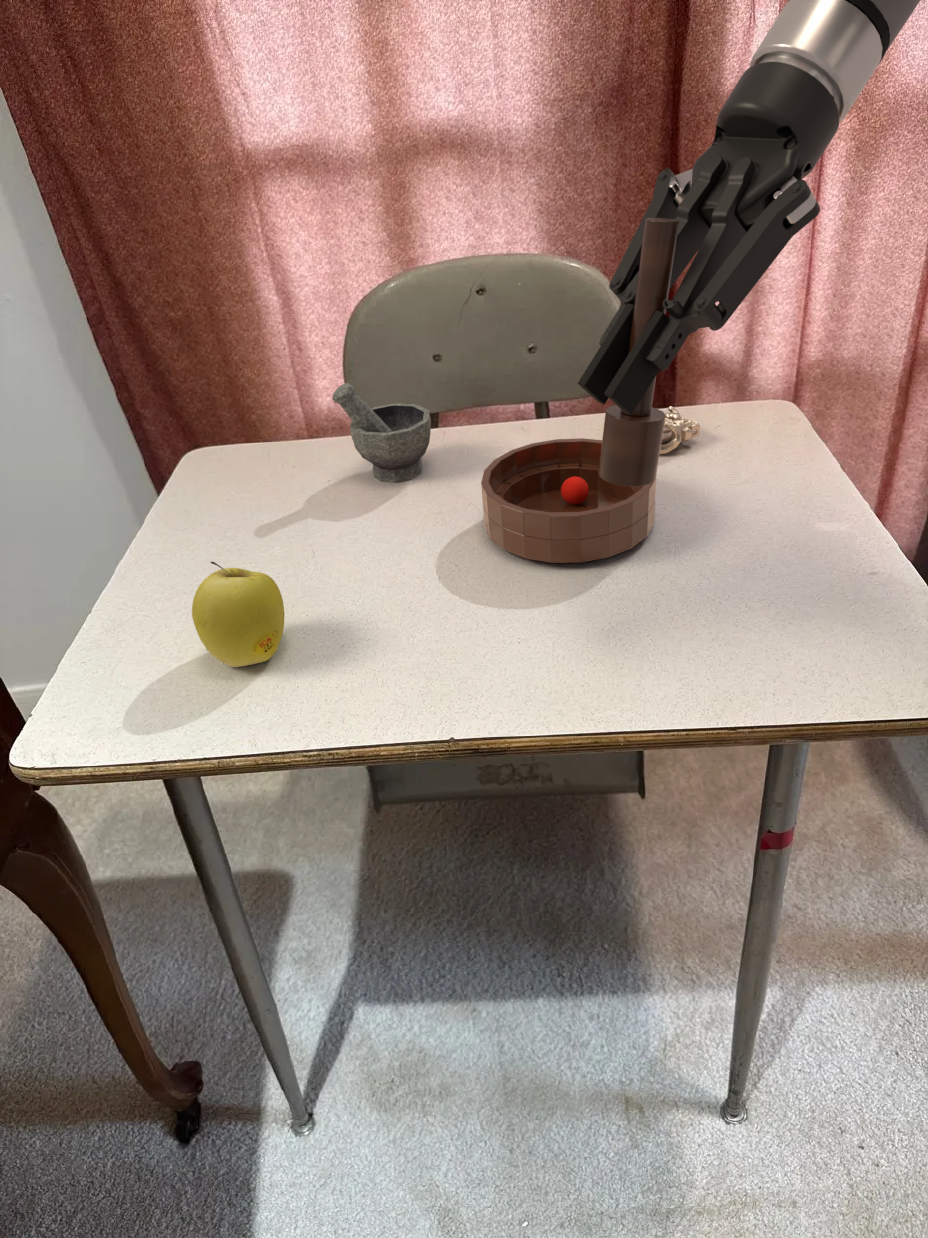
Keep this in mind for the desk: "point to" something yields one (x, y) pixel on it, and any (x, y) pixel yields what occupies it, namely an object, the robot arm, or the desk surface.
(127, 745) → the desk surface
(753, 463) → the desk surface
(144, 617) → the desk surface
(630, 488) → the bowl
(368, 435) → the mortar and pestle
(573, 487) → the red ball
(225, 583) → the apple
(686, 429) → the ornament
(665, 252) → the brown pestle
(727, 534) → the desk surface
